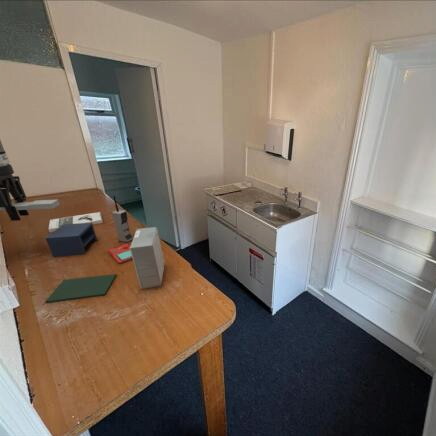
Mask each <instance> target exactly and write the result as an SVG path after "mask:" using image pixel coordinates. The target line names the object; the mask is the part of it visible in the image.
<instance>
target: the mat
mask: <svg viewBox="0 0 436 436" xmlns="http://www.w3.org/2000/svg"><path fill="white" fill-rule="evenodd" d="M117 276H118V275H117V273H113V274H112V273H111V274H103V275H94V276H86V277H85V276H83V277H76V278H68V279H67V278H66V279H63V280H62V281H61V282H60V284H58V286H57V287H56V288H55V289H54V290H53V292H51V294H50V295H49V297H47V298H46V300H45V301H44V302H45V304H48V303H49V304H50V303H56V302H65V301H72V300H79V299H87V298H88V299H89V298H93V297H102V296H106V295H107V293H108V291H109V290H110V288H111V286H112V284H113V283H114V281H115V279H116V278H117Z"/></svg>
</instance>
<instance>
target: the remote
mask: <svg viewBox="0 0 436 436" xmlns="http://www.w3.org/2000/svg"><path fill="white" fill-rule="evenodd" d="M60 204H61V203H60V202H59V199H40V200H37V199H36V200H34V201H27V202H26V201H24V202H22V203H14V202H12V206H15V208H16V210H17V211H18V210H27V211H28V210H30V211H31V210H34V211H35V210H53V209H55V208H57V207H58V206H60ZM0 212H7V211H6V209H5V208H4V207H0Z"/></svg>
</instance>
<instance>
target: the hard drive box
mask: <svg viewBox="0 0 436 436" xmlns="http://www.w3.org/2000/svg"><path fill="white" fill-rule="evenodd" d="M161 244H162V243H161V241H160V235H159V230H158V227H157V226H153V227H143V228H136V230H135V233H134V236H133V239H132V240H131V244H130V245H131V246H130V251H131V255H132V262H133V265H134V269H135V273H136V277H137V280H138V284H139V289H140V290H145V289H152V288H156V287H161V286H162V284H163V276H164V271H165V265H166V263H165V258H164V254H163V250H162V245H161Z"/></svg>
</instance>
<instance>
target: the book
mask: <svg viewBox="0 0 436 436" xmlns="http://www.w3.org/2000/svg"><path fill="white" fill-rule="evenodd" d="M103 220H104V219H103V216H102V213H101V211H97V212H92V213H85V214H78V215H73V216H72V215H71V216H65V217H59V218H53V219H52V218H51V219H50V220H49V224H48V229H47V230H48V232H49V233H52V232H54V231H55V230H56V229H58V228H59V227H60V226H61V225H63V224H77V223H92V224H93V226H94V225H100V224H103V223H104V221H103Z"/></svg>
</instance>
